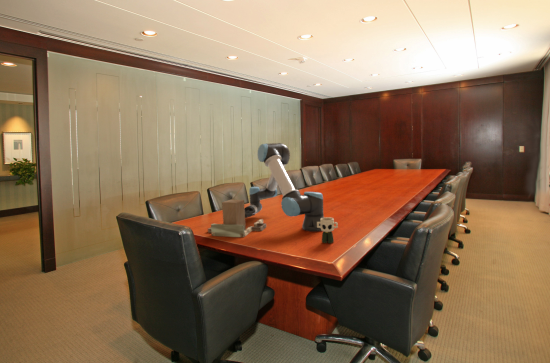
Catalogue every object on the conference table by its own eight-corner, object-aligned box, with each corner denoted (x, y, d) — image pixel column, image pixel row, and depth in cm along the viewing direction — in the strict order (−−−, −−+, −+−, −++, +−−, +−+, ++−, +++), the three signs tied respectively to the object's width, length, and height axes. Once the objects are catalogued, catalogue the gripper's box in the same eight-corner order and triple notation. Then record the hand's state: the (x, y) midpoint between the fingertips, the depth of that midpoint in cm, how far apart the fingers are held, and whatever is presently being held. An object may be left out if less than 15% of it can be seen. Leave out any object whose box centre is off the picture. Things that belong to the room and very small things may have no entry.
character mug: (316, 244, 161) (316, 220, 160) (318, 240, 168) (317, 217, 167) (337, 244, 159) (337, 220, 157) (338, 240, 166) (337, 217, 164)
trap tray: (228, 221, 222) (227, 211, 221) (271, 222, 212) (271, 212, 211) (202, 235, 189) (201, 224, 188) (253, 237, 178) (252, 226, 178)
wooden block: (233, 229, 198) (231, 199, 196) (246, 231, 194) (244, 199, 191) (223, 234, 189) (221, 202, 187) (237, 235, 185) (235, 202, 183)
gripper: (259, 216, 217) (246, 224, 195) (242, 215, 221) (227, 224, 199) (258, 205, 216) (245, 213, 194) (241, 205, 220) (226, 212, 198)
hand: (236, 218), depth 196 cm, fingers closed
